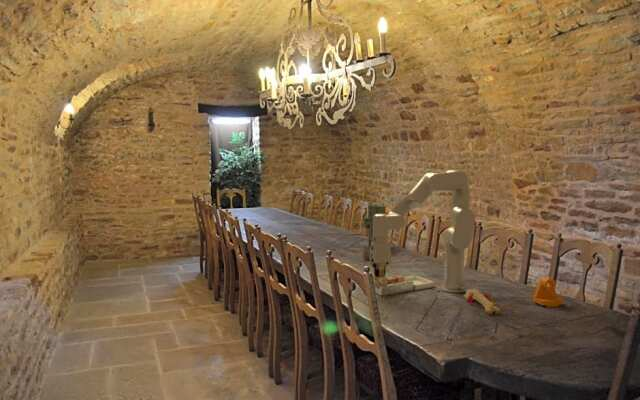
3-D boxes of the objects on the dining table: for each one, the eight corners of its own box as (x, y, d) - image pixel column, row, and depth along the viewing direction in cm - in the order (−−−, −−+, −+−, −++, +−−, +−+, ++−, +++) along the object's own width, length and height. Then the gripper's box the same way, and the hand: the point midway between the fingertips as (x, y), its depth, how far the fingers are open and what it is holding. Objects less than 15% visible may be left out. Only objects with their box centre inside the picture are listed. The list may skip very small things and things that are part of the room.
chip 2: (404, 282, 256) (404, 276, 255) (397, 284, 253) (397, 278, 253) (398, 280, 260) (398, 274, 259) (391, 281, 257) (391, 276, 257)
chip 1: (395, 284, 253) (395, 278, 253) (388, 285, 251) (388, 279, 250) (390, 282, 257) (390, 276, 256) (383, 283, 255) (383, 277, 254)
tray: (434, 286, 259) (434, 281, 259) (415, 290, 253) (415, 285, 253) (415, 279, 272) (415, 275, 272) (396, 283, 266) (396, 278, 265)
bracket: (541, 307, 227) (543, 281, 226) (532, 302, 234) (533, 276, 233) (563, 306, 228) (565, 280, 227) (554, 301, 236) (555, 276, 234)
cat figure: (504, 317, 218) (478, 295, 242) (506, 298, 216) (479, 278, 241) (482, 318, 217) (458, 296, 241) (484, 299, 215) (459, 278, 239)
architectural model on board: (378, 258, 326) (378, 243, 325) (380, 259, 323) (380, 244, 322) (362, 259, 321) (363, 244, 320) (365, 260, 319) (365, 245, 318)
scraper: (387, 285, 248) (387, 263, 247) (382, 286, 246) (382, 264, 245) (377, 281, 255) (377, 260, 254) (372, 282, 253) (372, 260, 252)
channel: (413, 289, 254) (413, 281, 253) (381, 296, 243) (381, 286, 243) (396, 283, 265) (396, 275, 264) (365, 289, 255) (365, 280, 254)
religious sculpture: (363, 244, 368) (363, 203, 364) (377, 243, 371) (378, 203, 367) (375, 251, 345) (375, 207, 342) (390, 250, 348) (391, 207, 345)
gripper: (371, 242, 241) (370, 279, 243) (398, 238, 249) (397, 275, 251) (362, 239, 247) (361, 276, 249) (388, 236, 255) (388, 272, 258)
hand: (379, 275), depth 250 cm, fingers closed on scraper, 3 cm apart
